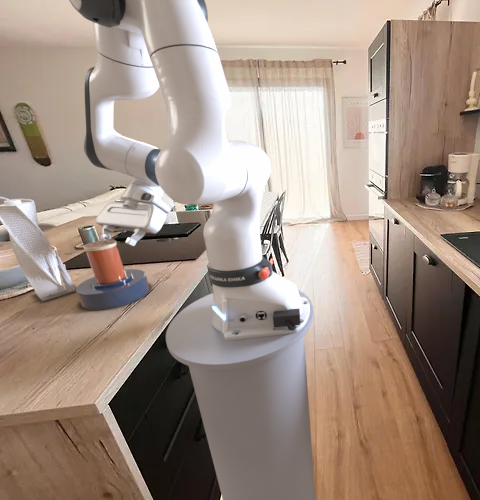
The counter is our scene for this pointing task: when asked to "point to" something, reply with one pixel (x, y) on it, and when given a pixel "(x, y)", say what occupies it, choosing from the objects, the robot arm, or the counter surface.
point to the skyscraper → (34, 250)
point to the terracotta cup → (105, 261)
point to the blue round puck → (113, 291)
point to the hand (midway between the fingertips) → (116, 243)
